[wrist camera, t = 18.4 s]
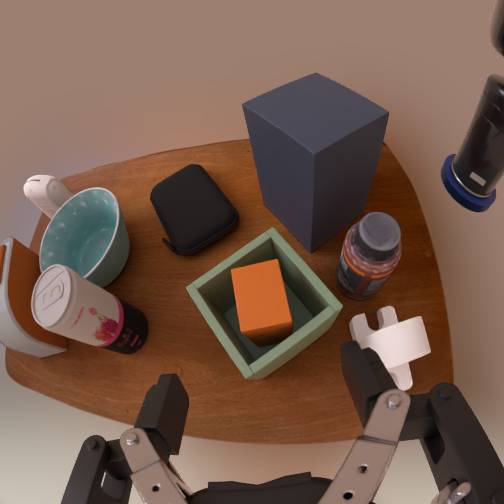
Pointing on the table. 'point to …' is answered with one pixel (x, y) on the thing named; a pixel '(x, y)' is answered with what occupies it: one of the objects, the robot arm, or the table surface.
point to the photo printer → (47, 193)
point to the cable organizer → (393, 342)
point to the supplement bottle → (368, 255)
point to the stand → (315, 154)
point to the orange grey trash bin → (22, 303)
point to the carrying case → (192, 210)
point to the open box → (298, 295)
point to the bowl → (87, 237)
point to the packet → (262, 303)
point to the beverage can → (86, 312)
